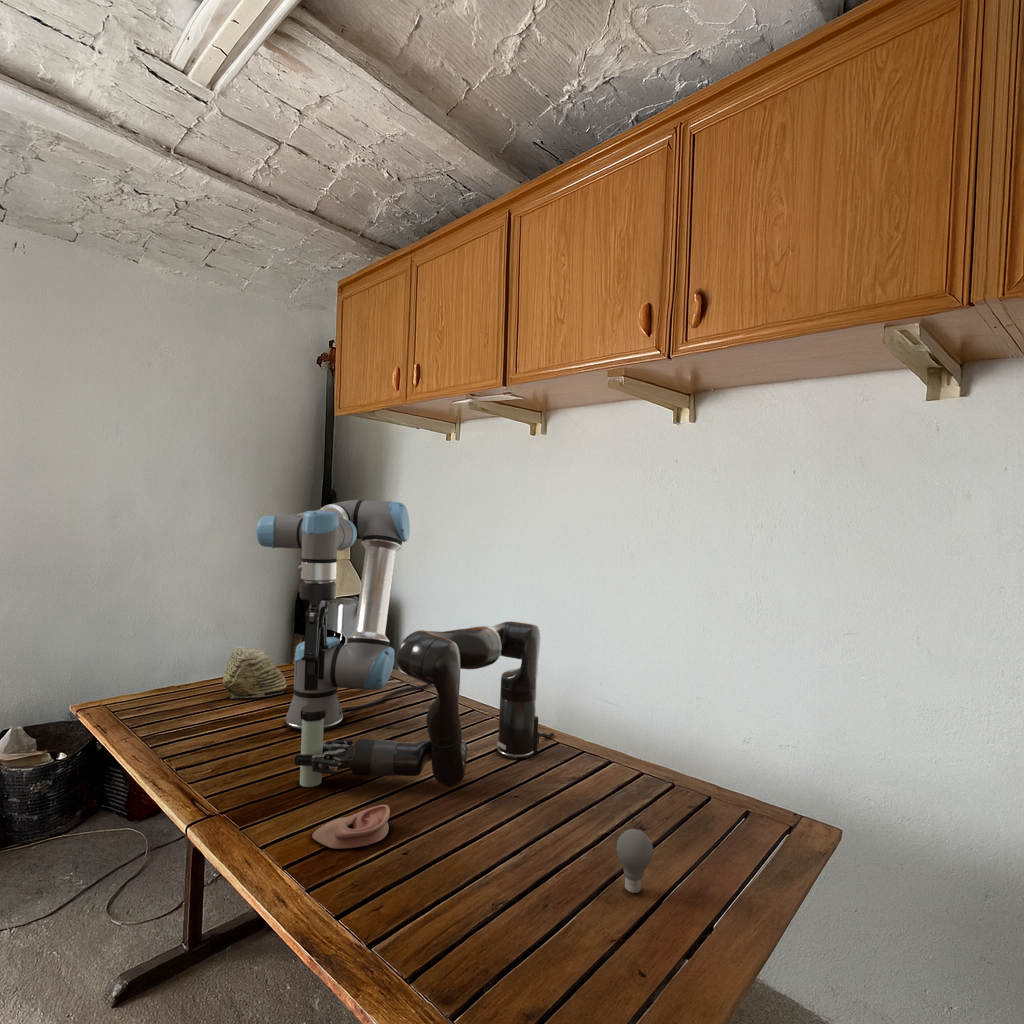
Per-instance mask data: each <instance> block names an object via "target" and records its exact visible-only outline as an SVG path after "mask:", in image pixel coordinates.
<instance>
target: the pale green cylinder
mask: <svg viewBox="0 0 1024 1024" xmlns="http://www.w3.org/2000/svg"><path fill="white" fill-rule="evenodd" d="M323 729H324V718H323V719H321V720H317V721H305V720H302V732H301V734H300V735H301V737H300V738H301V739H300V740H301V741H300V754H308V755H319V754H323V743H324V731H323ZM299 767H300V768H299V785H300V786H301V787H304V788H313V787H317V786H319V785H321V784H322V779H323V778H322V777H323V773H319V772H313V771H312V766H299ZM321 768H322V767H321Z"/></svg>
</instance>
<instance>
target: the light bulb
mask: <svg viewBox="0 0 1024 1024" xmlns="http://www.w3.org/2000/svg"><path fill="white" fill-rule="evenodd" d="M615 849H616V854H617V857H618V859H619V861H620V863H621V865H622V867H623V873H624V874H623V875H624V876H625V878H624V888H625V890H627V891H628V892H630V893H634V894H635V893H639V892H640V891H641V889H642V887H641V886H642V879H643V877H644V875H645V871H646V868H647V867H648V866H649V864H650V863H651V861H652V859H653V855H654V847H653V843H652V841H651V838H649V836H648V835H647V834H646V833H645V832H643V831H642V830H641V829H636V828H629V829H627V830H625V831H623V832H622V833H621V834H620V835H619V837H618V839H617V841H616V847H615Z"/></svg>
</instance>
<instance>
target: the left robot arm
mask: <svg viewBox="0 0 1024 1024" xmlns="http://www.w3.org/2000/svg"><path fill="white" fill-rule="evenodd" d="M410 525H411V524H410V517H409V512H408V509H407V506H406V505H405V504H404V503H403V502H400V501H399V502H398V501H392V500H388V501H387V500H386V501H385V500H365V499H364V500H363V499H351V500H345V501H339V502H334V503H330V504H325V505H324V506H322V507H321V508H320V509H316V510H307V511H305V512H300V513H295V514H288V515H275V514H274V515H264V516H262V517H261V518H260V519H259V520H258V522H257V525H256V530H255V531H256V533H255V534H256V540H257V543H258V544H259V545H260V546H261V547H265V548H272V549H300V550H301V557H300V563H301V564H299V565H298V567H297V568H298V570H300V579H301V580H302V581H301V582H300V583H299V598H300V599H301V600H303V601H309V605H308V607H307V608H306V611H305V632H304V641H302V642H300V643H298V644H297V645H296V647H295V654H294V659H293V661H294V670H293V671H294V672H293V695H292V696H293V697H292V699H291V702H290V704H289V708H288V711H287V713H286V715H285V726H286V728H287V729H289V730H291V731H294V732H295V731H296V732H301V733H302V719H301V717H300V716H301V708H302V707H304V706H307V705H323V706H325V707H326V715H325V718H324V729H323V732H325V731H329V730H332V729H335V728H337V727H339V726H340V725H342V723H343V722H344V714H343V711H351V710H352V711H353V710H357V709H358V710H359V709H364V708H367V707H370V706H371V707H372V706H374V705H377V704H379V703H381V702H383V701H384V700H385V699H387V698H389V697H392V696H394V695H396V694H399V693H403V692H407V691H411V690H418V689H423V688H428V687H429V686H432V685H431V684H427V683H426V684H423V685H417V686H416V685H415V686H411V687H404V688H402V689H398V690H394V691H392V692H390V693H388V694H385V695H383V696H382V697H381V698H379V699H377V700H375V701H372V702H368V703H364V704H361V705H355V706H346V707H345V706H344V707H342V706H341V702H340V699H339V695H338V688H340V689H354V690H365V691H370V690H371V691H372V690H375V691H376V690H377V691H378V690H382V689H383V688H384V687H385V686H386V685H387V684H388V682H389V680H390V678H391V675H392V672H393V669H394V664H395V649H394V648H393V647H392V646H390V640H389V639H388V637H387V636H386V632H387V631H386V629H387V622H388V615H389V606H390V598H391V592H392V591H391V590H392V582H393V576H394V568H395V560H396V554H397V552H399V551H400V550H402V545H403V543H405V542H408V541H409V540H410V539H409V538H410V532H411V531H410V530H411V526H410ZM356 540H361V543H360V544H361V546H362V547H363V548H364V549H365V552H364V559H363V567H362V574H361V580H360V581H361V582H360V589H359V596H358V602H357V608H356V617H355V624H354V631H353V632H352V633H351V634H350V635H349V636H348V637H347V641H346V644H341V641H340V639H339V638H338V637H334V636H328V632H327V631H328V629H327V628H328V627H327V626H328V610H329V608H328V607H329V604H328V602H326V601H331V600H335V598H336V595H337V594H336V592H337V591H336V590H337V583H336V582H335V580H336V579H337V576H338V575H337V574H338V571H337V570H338V551H340V552H341V551H344V550H346V549H348V548H350V547H352V546H353V545H354V544H355V542H356Z"/></svg>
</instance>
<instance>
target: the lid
mask: <svg viewBox="0 0 1024 1024" xmlns="http://www.w3.org/2000/svg"><path fill="white" fill-rule="evenodd" d="M325 715H326V707H325V706H323V705H307V706H304V707H302V708H301V716H300V717H301V719H302V720H305V721H317V720H321V719H323V718H325Z"/></svg>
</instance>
